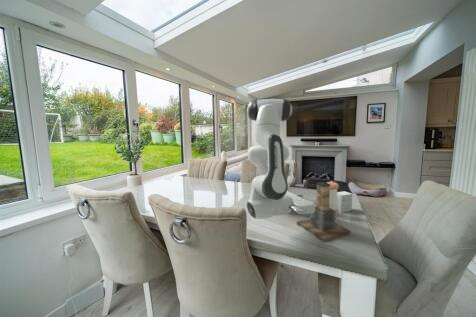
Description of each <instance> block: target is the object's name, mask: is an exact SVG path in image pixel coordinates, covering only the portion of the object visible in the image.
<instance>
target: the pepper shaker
mask: <svg viewBox="0 0 476 317" xmlns="http://www.w3.org/2000/svg"><path fill="white" fill-rule="evenodd" d="M326 183H328V184H330V198H329V208H331V209H333V210H335V211H336V217H338V216H339V212H338V200H337V192H338V190H339V187H340V185H339V184H338V183H337V182H335V181H333V180H331V181H327V182H326Z"/></svg>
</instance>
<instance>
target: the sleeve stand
mask: <svg viewBox="0 0 476 317" xmlns="http://www.w3.org/2000/svg"><path fill="white" fill-rule="evenodd" d="M336 217H337V216H336V211H335V210H333V209H331V208H329V211H325V212H321V211H319V210H317V209H316V205H315V212H314V213H309V218H306V219H302V220H297V221H296V225H297V226H299V227H301V228H302V229H303V230H305V231H306V232H308V233H309V234H311V235H312V236H314V237H315V238H318V240H320V241H321V242H323V243H324V242H327V241H330V240H334V239H337V238H340V237H344V236H347V235H351V230H350V229H348V228H346V227H344V226H343V225H340V224H339V223H337V222H336Z"/></svg>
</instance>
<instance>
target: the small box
mask: <svg viewBox="0 0 476 317" xmlns="http://www.w3.org/2000/svg"><path fill="white" fill-rule="evenodd" d="M337 200H338V213H340V214H343V213H347V212H351V211H352V206H353V193H351V192H348V191H345V190H344V191H337Z"/></svg>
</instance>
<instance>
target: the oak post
mask: <svg viewBox="0 0 476 317" xmlns="http://www.w3.org/2000/svg"><path fill="white" fill-rule="evenodd" d="M329 198H330V184H328V183H327V182H324V181H322V182H316V201H317V205H315V206H316V209H317V210H319V211H321V212H325V211H329Z"/></svg>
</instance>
